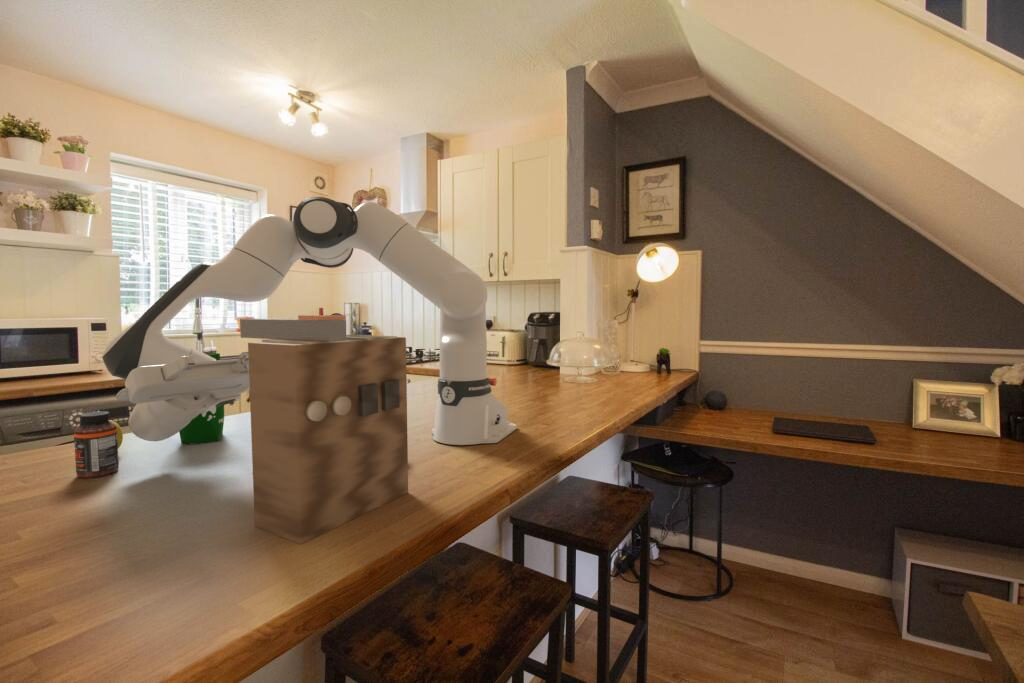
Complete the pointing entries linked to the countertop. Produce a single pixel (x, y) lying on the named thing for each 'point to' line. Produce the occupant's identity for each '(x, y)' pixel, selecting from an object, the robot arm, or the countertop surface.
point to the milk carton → (205, 423)
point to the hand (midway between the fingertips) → (220, 357)
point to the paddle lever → (297, 328)
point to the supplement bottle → (96, 445)
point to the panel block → (326, 431)
